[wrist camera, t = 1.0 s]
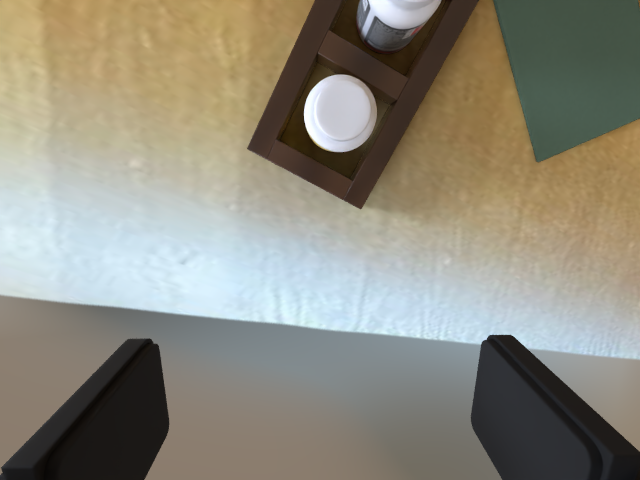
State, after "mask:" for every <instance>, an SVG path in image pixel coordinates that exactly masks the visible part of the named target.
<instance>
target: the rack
mask: <svg viewBox="0 0 640 480" xmlns="http://www.w3.org/2000/svg"><path fill="white" fill-rule="evenodd" d="M478 1H479V0H447V1H446V2H445V4H444V6H443V8H442V10H441V12H440V14H439V15H438V17H437V19H436V21H435V23H434V25H433V26H432V28H431V30H430V32H429V34H428V36H427V38H426V39H425V41H424V43H423V45H422V47H421V49H420V50H419V52H418V54H417V56H416V58H415V60H414V61H413V63H412V65H411V67H410V69H409V71H408V73H407V74H406V76H404V75H402V74H401V73H399V72H397V71H396V70H394V69H392V68H391V67H389V66H387V65H386V64H384V63H382V62H381V61H379V60H378V59H376V58H374V57H373V56H371V55H369V54H368V53H366V52H364V51H363V50H361V49H359V48H358V47H356V46H354V45H353V44H351V43H349V42H348V41H346V40H345V39H343V38H341V37H340V36H338V35H336V34H335V33H333V32H332V30H333V27H334V25H335V23H336V21H337V19H338V17H339V15H340V13H341V11H342V9H343V7H344V5H345V2H346V0H315V2H314V4H313V6H312V8H311V10H310V12H309V15H308V17H307V19H306V21H305V23H304V26H303V28H302V30H301V32H300V34H299V36H298V39H297V41H296V43H295V45H294V47H293V49H292V52H291V54H290V56H289V58H288V60H287V63H286V65H285V67H284V69H283V71H282V73H281V76H280V78H279V80H278V82H277V84H276V87H275V89H274V91H273V93H272V95H271V97H270V100H269V102H268V104H267V106H266V108H265V111H264V113H263V115H262V117H261V119H260V121H259V124H258V126H257V128H256V130H255V132H254V134H253V137H252V139H251V141H250V143H249V145H248V148H247V149H248V150H250V151H252V152H254V153H256V154H257V155H259V156H261V157H263V158H265V159H267V160H269V161H271V162H272V163H274V164H276V165H278V166H280V167H282V168H284V169H286V170H288V171H289V172H291V173H293V174H295V175H297V176H299V177H301V178H303V179H304V180H306V181H308V182H310V183H312V184H314V185H316V186H318V187H320V188H321V189H323V190H325V191H327V192H329V193H331V194H333V195H335V196H336V197H338V198H340V199H342V200H344V201H346V202H348V203H350V204H352V205H353V206H355V207H357V208H359V209H362V207H363V205H364V203H365V202H366V200H367V198H368V196H369V195H370V193H371V191H372V189H373V187H374V186H375V184H376V182H377V180H378V179H379V177H380V175H381V173H382V171H383V170H384V168H385V166H386V164H387V163H388V161H389V159H390V157H391V155H392V154H393V152H394V150H395V148H396V147H397V145H398V143H399V141H400V140H401V138H402V136H403V134H404V132H405V131H406V129H407V127H408V125H409V124H410V122H411V120H412V118H413V116H414V115H415V113H416V111H417V109H418V108H419V106H420V104H421V102H422V100H423V99H424V97H425V95H426V93H427V92H428V90H429V88H430V86H431V84H432V83H433V81H434V79H435V77H436V76H437V74H438V72H439V70H440V68H441V67H442V65H443V63H444V61H445V60H446V58H447V56H448V54H449V52H450V51H451V49H452V47H453V45H454V44H455V42H456V40H457V38H458V36H459V35H460V33H461V31H462V29H463V28H464V26H465V24H466V22H467V21H468V19H469V17H470V15H471V13H472V12H473V10H474V8H475V6H476V5H477V3H478ZM317 62H318V63H320V64H321V65H323V66H325V67H327V68H328V69H330V70H332V71H333V72H335V73H337V74H338V75H340V74H342V75H349V76H353V77H355V78H357V79H359V80H360V81H362V82H363V83H364V84H365V85H366V86H367V87H368V88H369V89H370V91H371V92H372V94H373V95H374V96H376V97H377V98H379V99H381V100H383V101H384V102H386V103H388V104H389V105H390V106H389V108H388V109H387V111H386V113H385V115H384V117H383V119H382V120H381V122H380V124H379V126H378V128H377V130H376V132H375V133H374V135H373V137H372V139H371V141H370V143H369V144H368V146H367V148H366V150H365V152H364V154H363V155H362V157H361V159H360V161H359V163H358V165H357V167H356V168H355V170H354V172H353V174H352V176H351V178H350V179H349V178H347V177H346V176H344V175H342V174H340V173H338V172H336V171H335V170H333V169H331V168H329V167H327V166H325V165H324V164H322V163H320V162H318V161H316V160H314V159H312V158H311V157H309V156H307V155H305V154H303V153H301V152H300V151H298V150H296V149H294V148H292V147H290V146H289V145H287V144H285V143H283V142H281V141H279V140H280V138H281V136H282V134H283V132H284V130H285V128H286V126H287V124H288V121H289V119H290V117H291V115H292V113H293V111H294V109H295V107H296V105H297V103H298V101H299V98H300V96H301V94H302V92H303V90H304V88H305V86H306V84H307V82H308V80H309V78H310V76H311V73H312V71H313V69H314V67H315V65H316V63H317Z"/></svg>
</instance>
